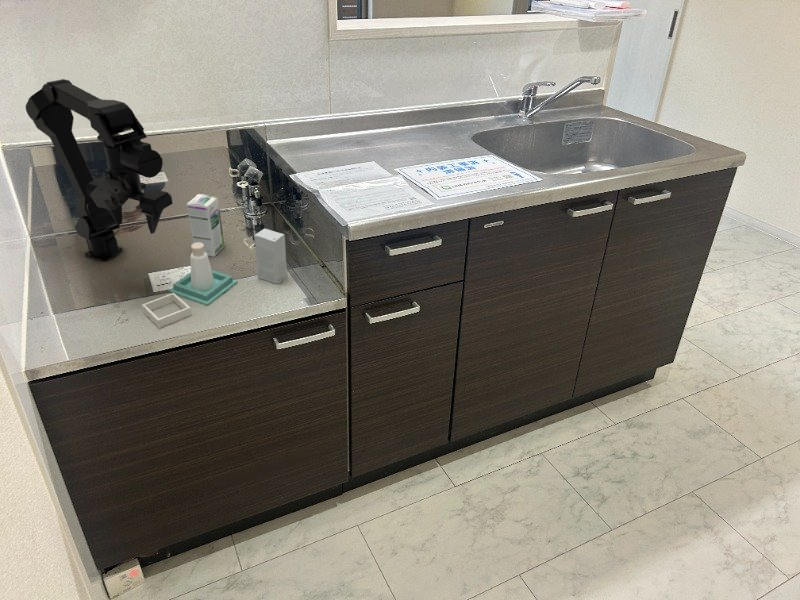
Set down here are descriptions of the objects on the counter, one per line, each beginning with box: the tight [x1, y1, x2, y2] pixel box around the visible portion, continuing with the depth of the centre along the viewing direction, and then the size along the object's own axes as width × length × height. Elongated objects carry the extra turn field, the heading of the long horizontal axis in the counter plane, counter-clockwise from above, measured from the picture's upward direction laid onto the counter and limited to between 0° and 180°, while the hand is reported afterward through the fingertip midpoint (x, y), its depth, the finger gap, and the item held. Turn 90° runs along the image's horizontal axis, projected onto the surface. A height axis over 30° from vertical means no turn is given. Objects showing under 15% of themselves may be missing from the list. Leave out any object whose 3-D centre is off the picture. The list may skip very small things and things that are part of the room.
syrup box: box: [186, 193, 225, 258], centre depth 153 cm, size 6×6×14 cm
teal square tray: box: [168, 269, 238, 307], centre depth 142 cm, size 11×11×2 cm
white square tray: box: [141, 293, 192, 329], centre depth 133 cm, size 8×8×2 cm
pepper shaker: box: [189, 242, 215, 291], centre depth 139 cm, size 5×5×11 cm
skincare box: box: [253, 228, 288, 285], centre depth 145 cm, size 6×4×12 cm
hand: (136, 228), depth 138 cm, fingers open, 9 cm apart
